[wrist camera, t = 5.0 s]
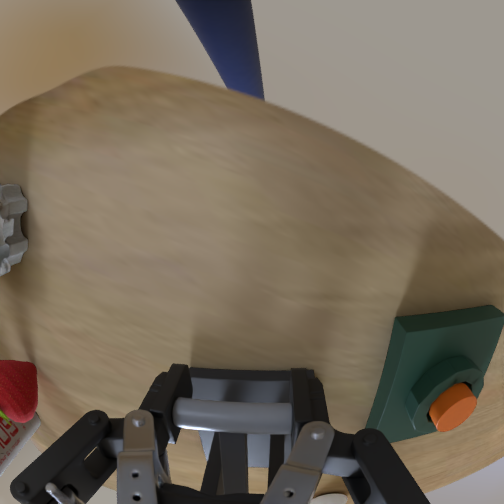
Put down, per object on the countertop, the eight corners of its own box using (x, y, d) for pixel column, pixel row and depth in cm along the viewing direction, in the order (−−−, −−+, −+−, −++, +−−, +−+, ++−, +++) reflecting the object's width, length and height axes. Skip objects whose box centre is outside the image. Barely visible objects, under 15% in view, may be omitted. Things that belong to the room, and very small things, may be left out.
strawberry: (60, 400, 23) (15, 454, 13) (15, 365, 23) (-32, 408, 13) (57, 367, 21) (1, 427, 12) (10, 329, 21) (-47, 374, 11)
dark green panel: (394, 316, 17) (418, 347, 13) (491, 304, 16) (519, 325, 13) (364, 429, 20) (373, 462, 16) (451, 410, 19) (466, 435, 16)
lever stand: (189, 366, 19) (126, 516, 7) (313, 369, 19) (336, 535, 6) (209, 454, 22) (183, 561, 10) (301, 457, 22) (304, 569, 9)
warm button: (437, 388, 15) (447, 403, 13) (473, 378, 14) (484, 391, 13) (422, 421, 15) (429, 436, 14) (457, 411, 15) (465, 424, 14)
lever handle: (183, 388, 12) (165, 410, 10) (291, 392, 12) (294, 418, 9) (205, 530, 11) (197, 553, 9) (280, 535, 11) (280, 559, 8)
